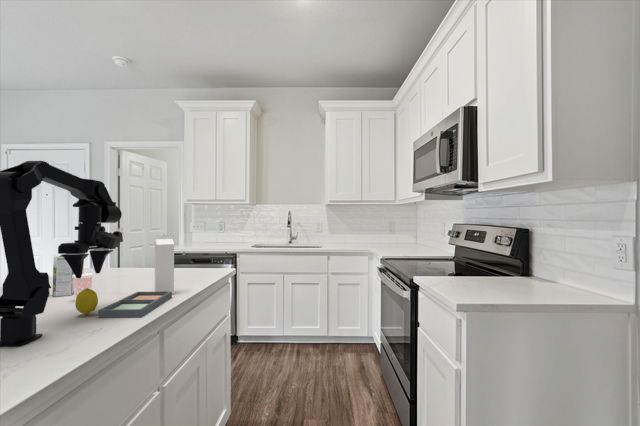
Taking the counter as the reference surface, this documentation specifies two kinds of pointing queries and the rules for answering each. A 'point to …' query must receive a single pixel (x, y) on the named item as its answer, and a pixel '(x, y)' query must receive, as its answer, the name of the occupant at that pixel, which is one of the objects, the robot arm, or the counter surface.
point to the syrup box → (62, 277)
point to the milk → (164, 263)
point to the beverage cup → (82, 282)
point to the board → (135, 305)
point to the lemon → (86, 301)
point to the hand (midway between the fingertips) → (88, 275)
